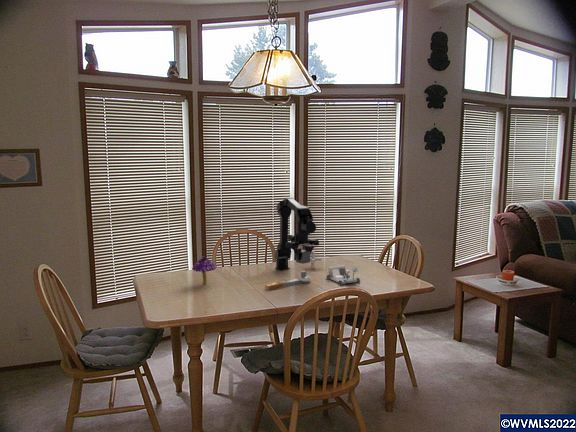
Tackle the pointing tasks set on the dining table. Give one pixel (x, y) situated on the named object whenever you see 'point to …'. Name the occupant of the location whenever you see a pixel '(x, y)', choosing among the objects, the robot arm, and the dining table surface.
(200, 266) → the purple mushroom
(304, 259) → the dark grey block
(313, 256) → the pipe connector
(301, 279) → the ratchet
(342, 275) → the toy car
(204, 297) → the dining table surface
